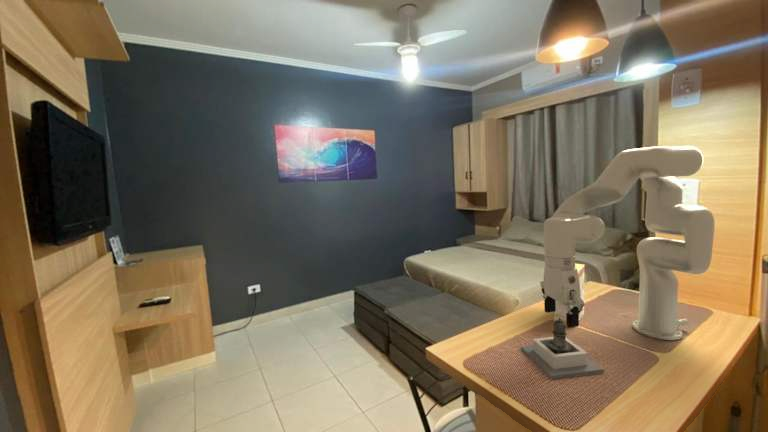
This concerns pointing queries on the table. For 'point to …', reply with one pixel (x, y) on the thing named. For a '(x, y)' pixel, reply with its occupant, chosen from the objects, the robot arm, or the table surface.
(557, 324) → the grey turned piece
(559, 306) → the coffeecake box
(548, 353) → the socket
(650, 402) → the table surface
